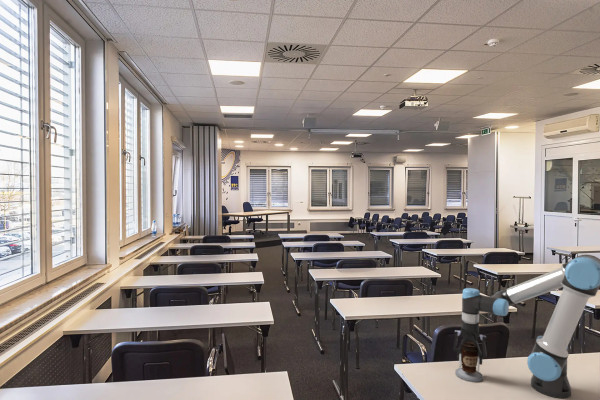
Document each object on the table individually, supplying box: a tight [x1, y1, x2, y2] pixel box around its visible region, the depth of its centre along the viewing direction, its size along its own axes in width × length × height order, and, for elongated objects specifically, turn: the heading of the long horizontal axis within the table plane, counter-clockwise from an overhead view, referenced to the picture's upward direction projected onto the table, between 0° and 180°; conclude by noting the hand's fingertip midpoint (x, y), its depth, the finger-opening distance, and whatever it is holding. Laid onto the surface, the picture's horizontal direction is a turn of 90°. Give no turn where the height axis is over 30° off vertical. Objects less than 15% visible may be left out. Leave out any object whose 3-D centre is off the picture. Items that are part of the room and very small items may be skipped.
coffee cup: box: [460, 341, 479, 373], centre depth 176 cm, size 9×8×13 cm
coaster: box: [454, 367, 484, 383], centre depth 176 cm, size 12×12×1 cm
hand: (469, 368), depth 176 cm, fingers closed on coffee cup, 7 cm apart
